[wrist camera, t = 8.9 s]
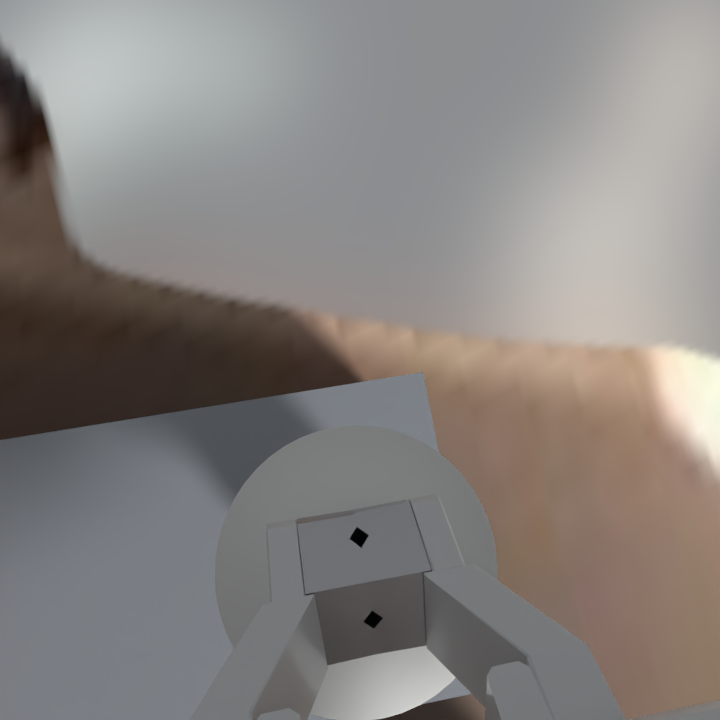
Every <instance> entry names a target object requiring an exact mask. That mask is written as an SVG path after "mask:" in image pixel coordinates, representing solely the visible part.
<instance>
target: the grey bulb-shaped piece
mask: <svg viewBox="0 0 720 720" xmlns="http://www.w3.org/2000/svg"><path fill="white" fill-rule="evenodd" d="M432 494H436V495H437V496H439V497H440V500H441V503H442V505H443V508H444V511H445V513H446V516H447V518H448V521H449V524H450V526H451V529H452V532H453V534H454V537H455V539H456V542H457V545H458V547H459V550H460V552H461V555H462V558H463V560H464V563H465V565H469V564H475V565H476V566H478V567H479V568H480V569H482V570H483V571H485V572H486V573H487V574H489V575H490V576H492V577H493V578H494V579H496V580H498V572H497V555H496V548H495V541H494V537H493V534H492V530H491V526H490V523H489V520H488V518H487V515H486V513H485V511H484V508H483V506H482V504H481V502H480V500H479V499H478V497H477V495H476V493H475V492H474V490H473V488H472V487H471V486H470V484H469V483H468V482H467V480H466V479H465V478H464V476H463V475H462V474H461V473H460V472H459V471H458V470H457V469H456V468H455V467H454V466H453V465H452V463H451V462H450V461H448V460H447V459H446V458H445V457H443V456H442V455H441V454H440V453H438V452H437V451H436V450H434V449H433V448H431V447H429V446H428V445H426V444H425V443H423V442H421V441H419V440H417V439H415V438H413V437H410V436H408V435H406V434H403V433H400V432H397V431H393V430H390V429H386V428H380V427H374V426H357V425H351V426H341V427H333V428H329V429H325V430H320V431H317V432H314V433H311V434H309V435H306V436H303V437H301V438H299V439H297V440H295V441H293V442H291V443H289V444H287V445H286V446H284V447H283V448H281V449H280V450H278V451H277V452H275V453H274V454H273V455H271V456H270V457H269V458H268V459H267V460H266V461H264V462H263V463H262V464H261V465H260V466H259V467H258V468H257V469H256V470H255V471H254V472H253V474H252V475H251V476H250V477H249V478H248V479H247V481H246V482H245V483H244V484H243V486H242V488H241V489H240V491H239V492H238V494H237V495H236V497H235V498H234V500H233V502H232V504H231V507H230V509H229V511H228V513H227V515H226V517H225V520H224V523H223V526H222V529H221V532H220V536H219V541H218V546H217V551H216V560H215V589H216V597H217V602H218V608H219V613H220V616H221V619H222V622H223V625H224V628H225V631H226V633H227V635H228V637H229V639H230V642H231V644H232V646H233V648H235V646H236V645H237V643H238V641H239V640H240V638H241V637H242V635H243V633H244V632H245V630H246V629H247V627H248V625H249V624H250V622H251V620H252V619H253V617H254V616H255V614H256V612H257V611H258V609H259V608H260V606H261V604H264V603H269V602H270V587H269V571H268V555H267V539H266V528H267V524H269V523H276V522H282V521H289V520H296V521H297V519H298V518H304V517H311V516H317V515H324V514H330V513H337V512H343V511H350V510H353V509H358V508H364V507H369V506H374V505H379V504H385V503H390V502H395V501H400V500H406V499H407V500H408V499H411V498H416V497H422V496H427V495H432ZM327 666H328V670H327V672H326V675H325V677H324V680H323V682H322V685H321V687H320V690H319V692H318V694H317V697H316V699H315V702H314V704H313V707H312V709H311V712H310V714H314V715H317V716H320V717H324V718H328V719H335V720H376V719H383V718H387V717H390V716H394V715H397V714H401V713H403V712H406V711H408V710H410V709H412V708H415V707H417V706H419V705H421V704H423V703H424V702H426V701H427V700H429V699H431V698H432V697H434V696H435V695H437V694H438V693H439V692H440V691H442V690H443V689H444V688H445V687H446V686H448V685H449V684H450V683H451V682H452V681H453V680H454V679H455V678H456V677H455V676H454V675H453V674H452V673H451V672H450V671H449V670H448V669H447V668H446V667H445V666H444V665H443V664H442V663H441V662H440V661H439V660H438V659H437V658H436V657H435V656H434V655H433V654H432V653H431V652H430V651H429V650H428V649H427V646H421V647H416V648H410V649H404V650H398V651H392V652H387V653H381V654H375V655H371V656H367V657H362V658H358V659H353V660H349V661H345V662H340V663H336V664H332V665H327Z"/></svg>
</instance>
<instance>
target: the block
mask: <svg viewBox="0 0 720 720" xmlns="http://www.w3.org/2000/svg"><path fill="white" fill-rule="evenodd" d="M351 425H357V426H374V427H380V428H386V429H390V430H393V431H397V432H400V433H403V434H406V435H408V436H410V437H413V438H415V439H417V440H419V441H421V442H423V443H425V444H426V445H428V446H429V447H431V448H433V449H434V450H436V451H437V452H438V453H439V450H438V445H437V440H436V435H435V430H434V425H433V420H432V415H431V410H430V405H429V400H428V394H427V389H426V384H425V379H424V374H423V372H421V373H414V374H408V375H402V376H396V377H389V378H383V379H377V380H371V381H365V382H358V383H352V384H346V385H340V386H333V387H327V388H321V389H315V390H309V391H302V392H296V393H290V394H284V395H277V396H271V397H265V398H259V399H253V400H246V401H240V402H234V403H228V404H221V405H215V406H209V407H203V408H197V409H190V410H184V411H178V412H172V413H165V414H159V415H153V416H147V417H141V418H134V419H128V420H122V421H116V422H109V423H103V424H97V425H91V426H85V427H78V428H72V429H66V430H60V431H54V432H47V433H41V434H35V435H29V436H22V437H16V438H10V439H4V440H0V720H190V719H191V717H192V715H193V714H194V712H195V711H196V709H197V707H198V706H199V704H200V703H201V701H202V699H203V698H204V696H205V695H206V693H207V691H208V690H209V688H210V686H211V685H212V683H213V682H214V680H215V678H216V677H217V675H218V674H219V672H220V670H221V669H222V667H223V666H224V664H225V662H226V661H227V659H228V658H229V656H230V654H231V653H232V651H233V649H234V648H233V646H232V644H231V642H230V639H229V637H228V635H227V633H226V631H225V628H224V625H223V622H222V619H221V616H220V613H219V608H218V602H217V597H216V589H215V560H216V551H217V546H218V541H219V536H220V532H221V529H222V526H223V523H224V520H225V517H226V515H227V513H228V511H229V509H230V507H231V504H232V502H233V500H234V498H235V497H236V495H237V494H238V492H239V491H240V489H241V488H242V486H243V484H244V483H245V482H246V481H247V479H248V478H249V477H250V476H251V475H252V474H253V472H254V471H255V470H256V469H257V468H258V467H259V466H260V465H261V464H262V463H263V462H264V461H266V460H267V459H268V458H269V457H270V456H271V455H273V454H274V453H275V452H277V451H278V450H280V449H281V448H283V447H284V446H286V445H287V444H289V443H291V442H293V441H295V440H297V439H299V438H301V437H303V436H306V435H309V434H311V433H314V432H317V431H320V430H325V429H329V428H333V427H341V426H351ZM469 694H471V692H470V691H469V690H468V689H467V688H466V687H465V686H464V685H463V684H462V683H461V682H460V681H459V680H458V679H457V678H455V679H454V680H453V681H452V682H451V683H450V684H449V685H448V686H446V687H445V688H444V689H443V690H442V691H440V692H439V693H438V694H437V695H435V696H434V697H432V698H431V699H429V700H427V701H426V702H424V703H423V704H426V703H430V702H435V701H440V700H445V699H449V698H454V697H459V696H464V695H469ZM307 720H335V719H328V718H324V717H320V716H317V715H314V714H309V716H308V719H307Z"/></svg>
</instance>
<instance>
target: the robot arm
mask: <svg viewBox="0 0 720 720" xmlns="http://www.w3.org/2000/svg"><path fill="white" fill-rule="evenodd" d="M266 539H267V555H268V571H269V587H270V602H269V603H264V604H261V606H260V608H259V609H258V611H257V612H256V614H255V616H254V617H253V619H252V620H251V622H250V624H249V625H248V627H247V629H246V630H245V632H244V633H243V635H242V637H241V638H240V640H239V641H238V643H237V645H236V646H235V648H234V649H233V651H232V653H231V654H230V656H229V658H228V659H227V661H226V662H225V664H224V666H223V667H222V669H221V670H220V672H219V674H218V675H217V677H216V678H215V680H214V682H213V683H212V685H211V686H210V688H209V690H208V691H207V693H206V695H205V696H204V698H203V699H202V701H201V703H200V704H199V706H198V707H197V709H196V711H195V712H194V714H193V715H192V717H191V719H190V720H307V719H308V716H309V714H310V712H311V709H312V707H313V704H314V702H315V699H316V697H317V694H318V692H319V690H320V687H321V685H322V682H323V680H324V677H325V675H326V672H327V670H328V666H327V665H332V664H336V663H340V662H345V661H349V660H353V659H358V658H362V657H367V656H371V655H375V654H381V653H387V652H392V651H398V650H404V649H410V648H416V647H421V646H427V649H428V650H429V651H430V652H431V653H432V654H433V655H434V656H435V657H436V658H437V659H438V660H439V661H440V662H441V663H442V664H443V665H444V666H445V667H446V668H447V669H448V670H449V671H450V672H451V673H452V674H453V675H454V676H455V677H456V678H457V679H458V680H459V681H460V682H461V683H462V684H463V685H464V686H465V687H466V688H467V689H468V690H469V691H470V692H471V694H472V695H473V696H474V697H475V698H476V699H477V700H478V701H479V702H480V703H481V704H482V705H483V706H484V707H485V708H486V713H485V720H626V719H625V717H624V715H623V713H622V711H621V709H620V707H619V705H618V703H617V702H616V700H615V698H614V696H613V694H612V692H611V690H610V688H609V686H608V684H607V682H606V680H605V678H604V676H603V674H602V672H601V670H600V668H599V666H598V664H597V662H596V660H595V658H594V656H593V654H592V652H591V650H590V648H589V646H588V645H587V644H586V643H584V642H583V641H581V640H580V639H579V638H577V637H576V636H574V635H573V634H572V633H570V632H569V631H567V630H566V629H565V628H563V627H562V626H560V625H559V624H558V623H556V622H555V621H553V620H552V619H551V618H549V617H548V616H546V615H545V614H544V613H542V612H541V611H539V610H538V609H537V608H535V607H534V606H532V605H531V604H530V603H528V602H527V601H525V600H524V599H523V598H521V597H520V596H518V595H517V594H516V593H514V592H513V591H511V590H510V589H508V588H507V587H506V586H504V585H503V584H501V583H500V582H499V581H497V580H496V579H494V578H493V577H492V576H490V575H489V574H487V573H486V572H485V571H483V570H482V569H480V568H479V567H478V566H476V565H475V564H469V565H465V563H464V560H463V558H462V555H461V552H460V550H459V547H458V545H457V542H456V539H455V537H454V534H453V532H452V529H451V526H450V524H449V521H448V518H447V516H446V513H445V511H444V508H443V505H442V503H441V500H440V497H439V496H437V495H436V494H432V495H427V496H422V497H416V498H411V499H408V500H407V499H406V500H400V501H395V502H390V503H385V504H379V505H374V506H369V507H364V508H358V509H353V510H350V511H343V512H337V513H330V514H324V515H317V516H311V517H304V518H298V519H297V521H296V520H289V521H282V522H276V523H269V524H267V528H266ZM628 720H720V700H715V701H711V702H706V703H701V704H697V705H692V706H688V707H683V708H678V709H674V710H669V711H665V712H660V713H655V714H651V715H646V716H642V717H637V718H633V719H628Z"/></svg>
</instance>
